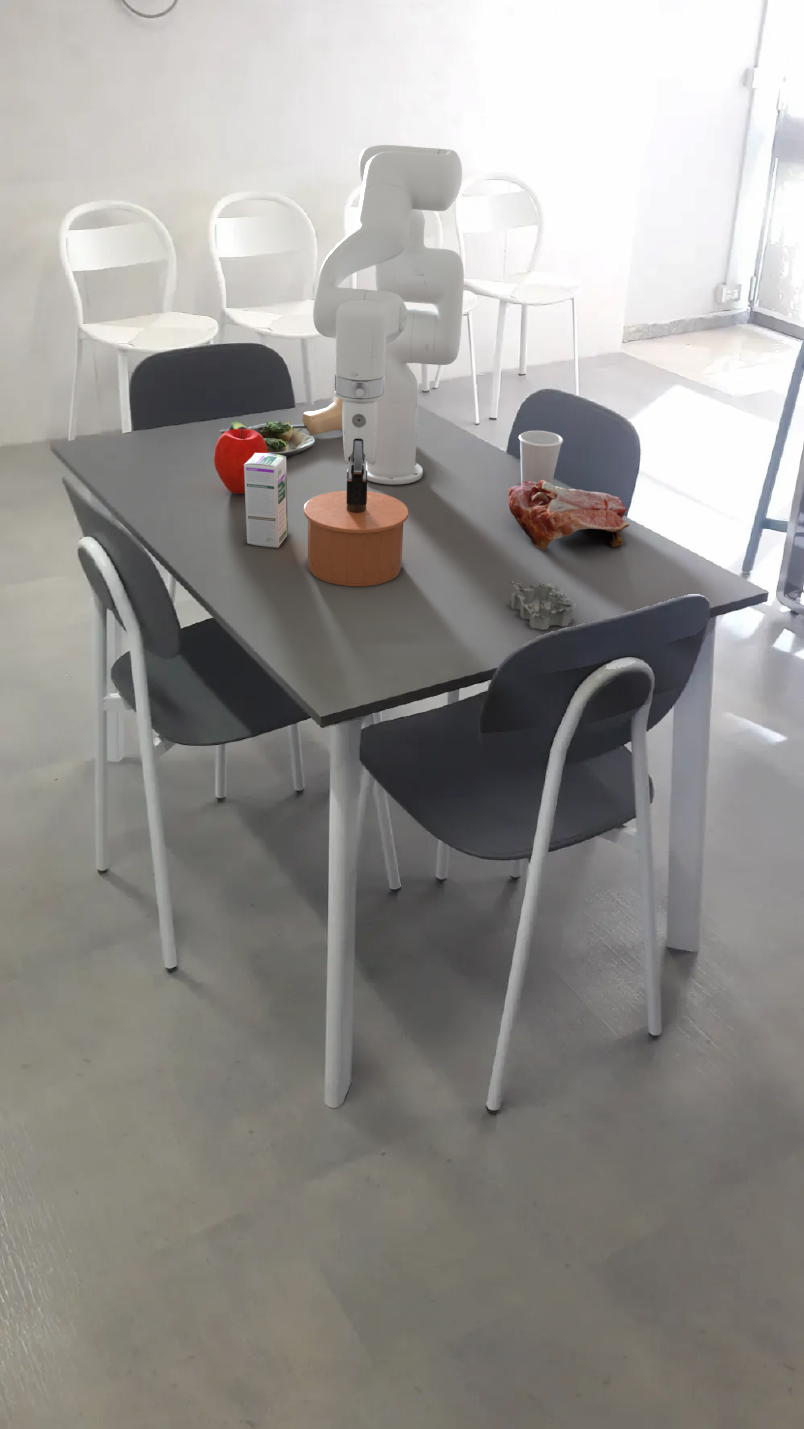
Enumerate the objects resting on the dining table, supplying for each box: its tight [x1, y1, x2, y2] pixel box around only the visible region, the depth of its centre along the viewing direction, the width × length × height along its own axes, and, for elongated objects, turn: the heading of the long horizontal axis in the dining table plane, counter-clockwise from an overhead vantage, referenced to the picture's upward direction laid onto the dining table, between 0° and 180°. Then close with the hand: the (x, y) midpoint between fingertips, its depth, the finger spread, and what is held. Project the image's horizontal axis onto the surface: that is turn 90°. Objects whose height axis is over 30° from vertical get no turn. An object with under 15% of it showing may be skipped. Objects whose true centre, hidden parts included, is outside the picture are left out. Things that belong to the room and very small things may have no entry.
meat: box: [507, 480, 630, 552], centre depth 223 cm, size 21×21×10 cm
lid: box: [303, 467, 409, 533], centre depth 201 cm, size 17×17×8 cm
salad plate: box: [218, 420, 316, 458], centre depth 257 cm, size 19×18×5 cm
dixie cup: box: [518, 430, 564, 485], centre depth 241 cm, size 8×8×10 cm
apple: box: [213, 429, 268, 495], centre depth 231 cm, size 10×10×12 cm
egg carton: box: [510, 580, 577, 631], centre depth 195 cm, size 11×8×4 cm
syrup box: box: [244, 453, 289, 549], centre depth 212 cm, size 6×6×14 cm
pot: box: [307, 519, 404, 587], centre depth 206 cm, size 15×15×10 cm
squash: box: [301, 396, 343, 436], centre depth 265 cm, size 11×20×9 cm, turn 118°
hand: (356, 498), depth 202 cm, fingers closed on lid, 3 cm apart
